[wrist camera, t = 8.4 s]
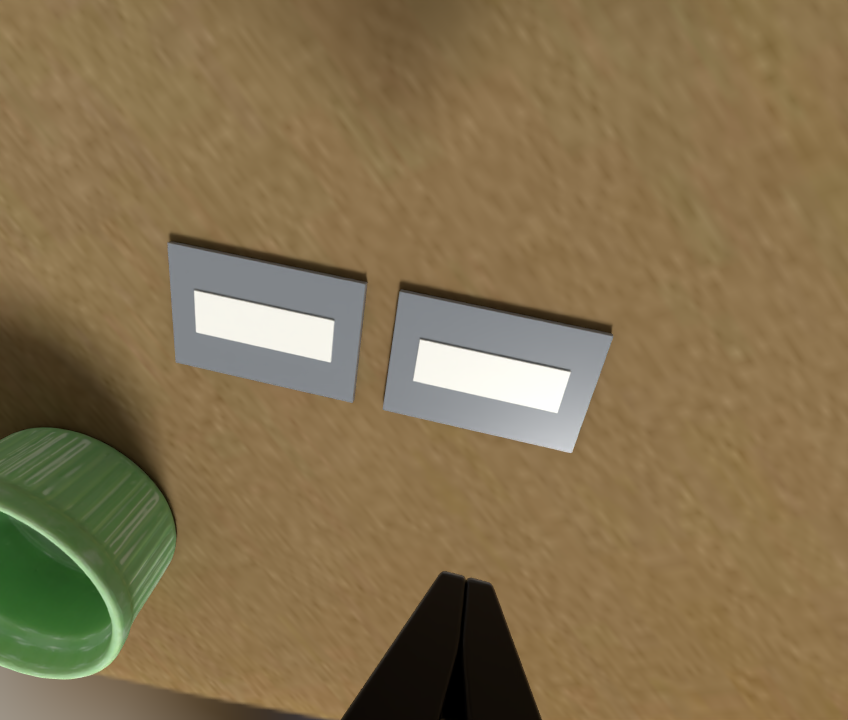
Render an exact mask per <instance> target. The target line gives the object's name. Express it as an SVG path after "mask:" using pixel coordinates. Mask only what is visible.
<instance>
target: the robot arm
mask: <svg viewBox="0 0 848 720" xmlns="http://www.w3.org/2000/svg"><path fill="white" fill-rule="evenodd" d="M341 720H542V719H541V716H540V713H539V710H538V708H537V705H536V702H535V700H534V697H533V694H532V691H531V689H530V686H529V683H528V680H527V678H526V675H525V672H524V669H523V667H522V664H521V661H520V658H519V656H518V653H517V650H516V648H515V645H514V642H513V639H512V637H511V634H510V631H509V628H508V626H507V623H506V620H505V617H504V615H503V612H502V609H501V606H500V604H499V601H498V598H497V595H496V593H495V590H494V588H493V586H492V584H491V583H489V582H486V581H482V580H478V579H474V578H468V579H467V580H466V579H465V577H464V576H462V575H459V574H455V573H451V572H447V571H443V572H441V573H440V574H439V575H438V577H437V578H436V580H435V581H434V583H433V584H432V586H431V587H430V589H429V590H428V592H427V593H426V595H425V596H424V598H423V599H422V600H421V602H420V603H419V605H418V606H417V608H416V609H415V611H414V612H413V614H412V615H411V617H410V618H409V620H408V621H407V623H406V624H405V626H404V627H403V629H402V630H401V632H400V633H399V634H398V636H397V637H396V639H395V640H394V642H393V643H392V645H391V646H390V648H389V649H388V651H387V652H386V654H385V655H384V657H383V658H382V660H381V661H380V663H379V664H378V666H377V667H376V668H375V670H374V671H373V673H372V674H371V676H370V677H369V679H368V680H367V682H366V683H365V685H364V686H363V688H362V689H361V691H360V692H359V694H358V695H357V697H356V698H355V700H354V701H353V702H352V704H351V705H350V707H349V708H348V710H347V711H346V713H345V714H344V716H343V717H342V719H341Z"/></svg>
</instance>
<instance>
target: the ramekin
mask: <svg viewBox="0 0 848 720" xmlns="http://www.w3.org/2000/svg"><path fill="white" fill-rule="evenodd" d="M175 546H176V530H175V524H174V520H173V516H172V513H171V510H170V508H169V505H168V503H167V501H166V499H165V498H164V496H163V494H162V493H161V491H160V490H159V489H158V487H157V486H156V485H155V483H154V482H153V481H152V480H151V479H150V478H149V477H148V475H147V474H146V473H145V472H144V471H143V470H142V469H141V468H139V467H138V466H137V465H136V464H135V463H134V462H132V461H131V460H130V459H129V458H127V457H126V456H125V455H123V454H122V453H120V452H119V451H117V450H116V449H114V448H112V447H111V446H109V445H107V444H105V443H103V442H101V441H99V440H97V439H95V438H92V437H90V436H87V435H85V434H81V433H78V432H74V431H70V430H64V429H59V428H45V427H41V428H30V429H26V430H23V431H19V432H16V433H13V434H11V435H9V436H7V437H5V438H3V439H2V440H0V666H2V667H5V668H9V669H11V670H14V671H17V672H20V673H23V674H28V675H32V676H36V677H40V678H51V679H75V678H81V677H85V676H88V675H92V674H94V673H97V672H99V671H101V670H102V669H104V668H105V667H107V666H108V665H109V664H110V663H111V662H112V661H113V660H114V659H115V658H116V657H117V655H118V654H119V652H120V650H121V649H122V647H123V645H124V643H125V641H126V639H127V637H128V634H129V631H130V628H131V625H132V623H133V621H134V619H135V618H136V616H137V614H138V613H139V611H140V610H141V608H142V607H143V605H144V603H145V602H146V600H147V599H148V597H149V596H150V594H151V593H152V591H153V590H154V588H155V586H156V585H157V583H158V582H159V580H160V578H161V577H162V575H163V573H164V572H165V570H166V569H167V567H168V565H169V563H170V562H171V560H172V557H173V554H174V551H175Z"/></svg>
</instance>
